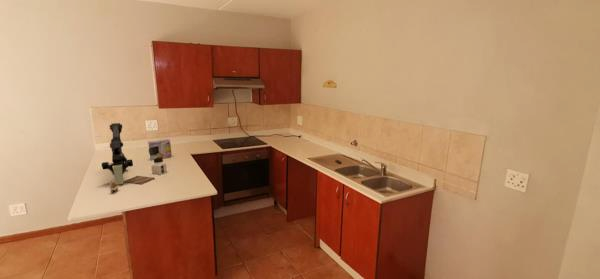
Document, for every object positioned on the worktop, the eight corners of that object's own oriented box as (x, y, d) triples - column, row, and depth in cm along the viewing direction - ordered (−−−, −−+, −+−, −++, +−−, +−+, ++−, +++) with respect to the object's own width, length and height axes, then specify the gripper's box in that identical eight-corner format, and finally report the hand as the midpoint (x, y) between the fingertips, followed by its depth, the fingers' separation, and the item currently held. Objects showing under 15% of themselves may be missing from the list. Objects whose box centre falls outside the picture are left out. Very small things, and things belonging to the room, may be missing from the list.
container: (167, 171, 238) (165, 156, 236) (160, 174, 231) (158, 158, 228) (159, 171, 240) (157, 155, 238) (152, 173, 233) (150, 158, 230)
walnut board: (123, 182, 214) (123, 181, 214) (137, 176, 226) (137, 175, 226) (141, 184, 210) (141, 183, 210) (154, 178, 222) (154, 177, 222)
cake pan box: (150, 160, 268) (148, 142, 265) (148, 159, 272) (146, 141, 269) (172, 157, 280) (170, 139, 277) (170, 156, 284) (169, 138, 280)
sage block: (115, 182, 210) (113, 165, 208) (123, 181, 213) (122, 164, 210) (114, 184, 206) (113, 167, 203) (123, 183, 208) (121, 166, 206)
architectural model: (120, 190, 200) (119, 180, 199) (115, 194, 194) (114, 183, 192) (115, 190, 200) (113, 180, 198) (110, 194, 193) (108, 184, 192)
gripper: (100, 151, 203) (100, 171, 196) (130, 148, 212) (132, 167, 205) (102, 159, 212) (103, 178, 205) (132, 156, 221) (133, 174, 214)
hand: (118, 174), depth 207 cm, fingers closed on sage block, 5 cm apart
